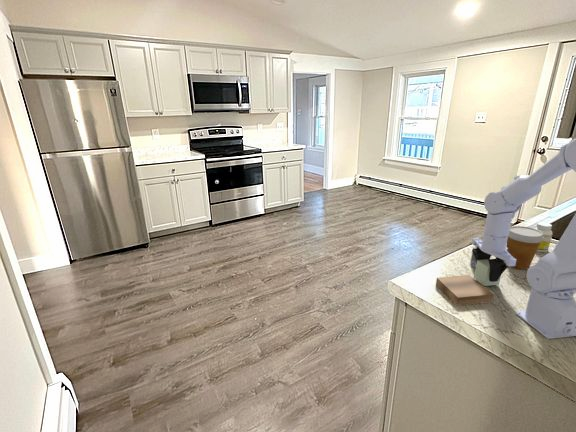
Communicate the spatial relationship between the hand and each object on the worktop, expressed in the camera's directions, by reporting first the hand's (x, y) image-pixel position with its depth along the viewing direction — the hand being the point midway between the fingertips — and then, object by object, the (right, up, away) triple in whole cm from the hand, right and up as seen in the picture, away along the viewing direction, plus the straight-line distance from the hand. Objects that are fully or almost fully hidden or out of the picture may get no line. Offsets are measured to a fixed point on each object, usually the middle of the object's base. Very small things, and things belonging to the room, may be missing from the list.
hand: (487, 276), depth 89 cm
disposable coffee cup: (+16, +2, +10) cm, 19 cm away
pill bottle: (+4, +1, +11) cm, 11 cm away
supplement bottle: (+31, +6, +20) cm, 37 cm away
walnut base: (-9, -4, -4) cm, 11 cm away
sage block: (0, -1, +1) cm, 2 cm away
